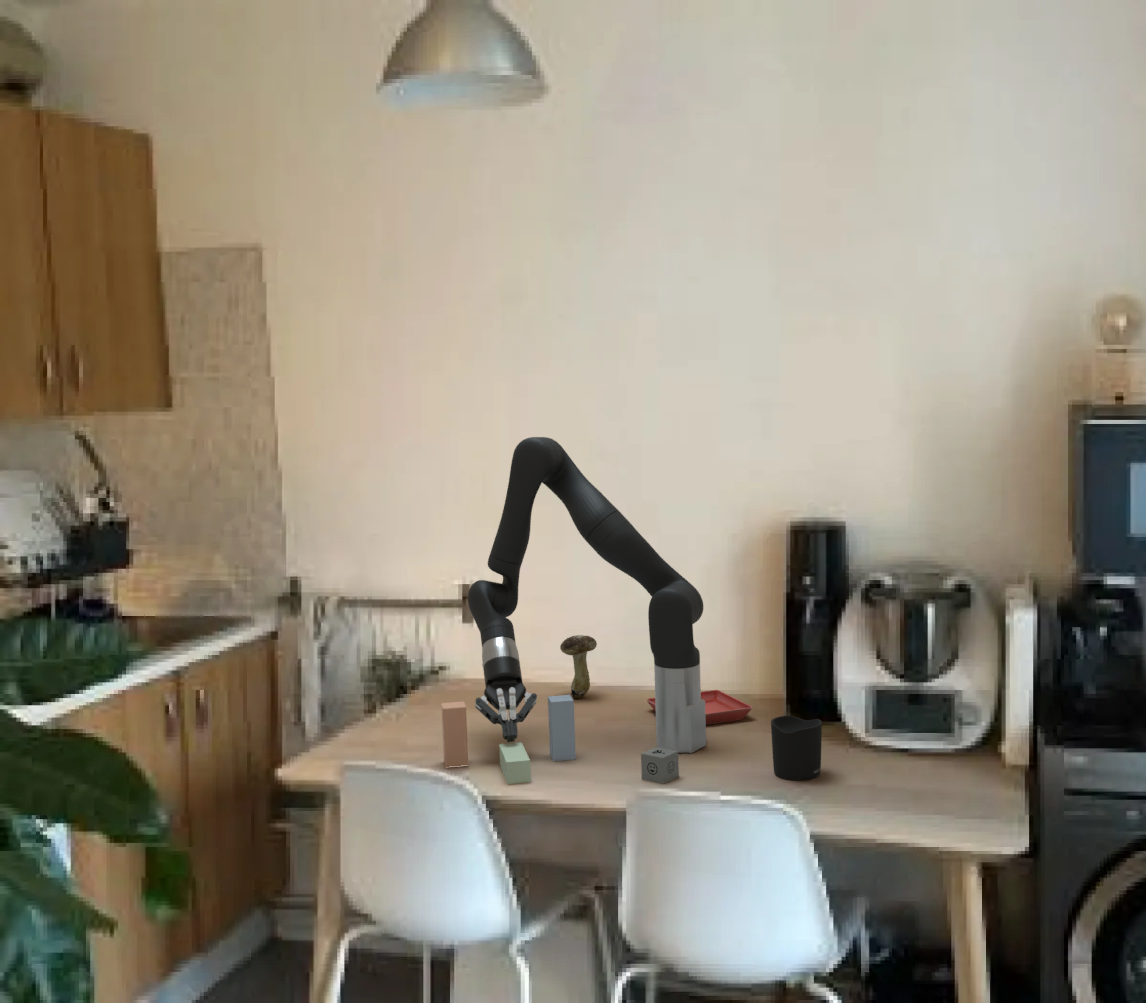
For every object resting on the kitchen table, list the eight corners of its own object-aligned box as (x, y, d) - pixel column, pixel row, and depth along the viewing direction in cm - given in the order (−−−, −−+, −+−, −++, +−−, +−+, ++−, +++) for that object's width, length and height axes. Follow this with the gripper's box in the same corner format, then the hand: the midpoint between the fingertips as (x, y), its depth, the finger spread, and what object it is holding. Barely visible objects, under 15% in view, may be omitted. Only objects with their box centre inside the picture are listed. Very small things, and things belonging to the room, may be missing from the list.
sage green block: (521, 742, 253) (530, 760, 241) (522, 764, 253) (531, 783, 242) (499, 744, 252) (506, 762, 240) (500, 766, 253) (507, 785, 241)
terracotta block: (466, 759, 257) (464, 701, 255) (468, 766, 252) (465, 707, 251) (444, 761, 256) (441, 703, 255) (445, 768, 252) (442, 709, 250)
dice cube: (657, 772, 245) (656, 746, 244) (678, 776, 242) (678, 751, 241) (641, 779, 241) (641, 753, 240) (663, 784, 238) (662, 758, 237)
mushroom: (598, 702, 296) (596, 638, 295) (561, 703, 297) (558, 640, 295) (598, 692, 306) (596, 630, 304) (562, 693, 306) (560, 631, 304)
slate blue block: (572, 752, 259) (569, 694, 258) (575, 759, 254) (573, 700, 253) (550, 754, 258) (547, 696, 257) (553, 761, 254) (551, 702, 252)
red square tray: (645, 712, 288) (645, 697, 288) (718, 702, 294) (717, 688, 294) (678, 732, 271) (677, 717, 271) (754, 722, 277) (754, 707, 277)
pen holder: (785, 784, 235) (784, 731, 234) (763, 769, 244) (762, 718, 243) (831, 778, 238) (830, 725, 237) (808, 763, 247) (807, 712, 246)
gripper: (469, 657, 257) (478, 733, 247) (534, 652, 260) (546, 727, 249) (468, 676, 263) (476, 752, 252) (532, 672, 265) (543, 746, 255)
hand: (511, 739), depth 251 cm, fingers closed
